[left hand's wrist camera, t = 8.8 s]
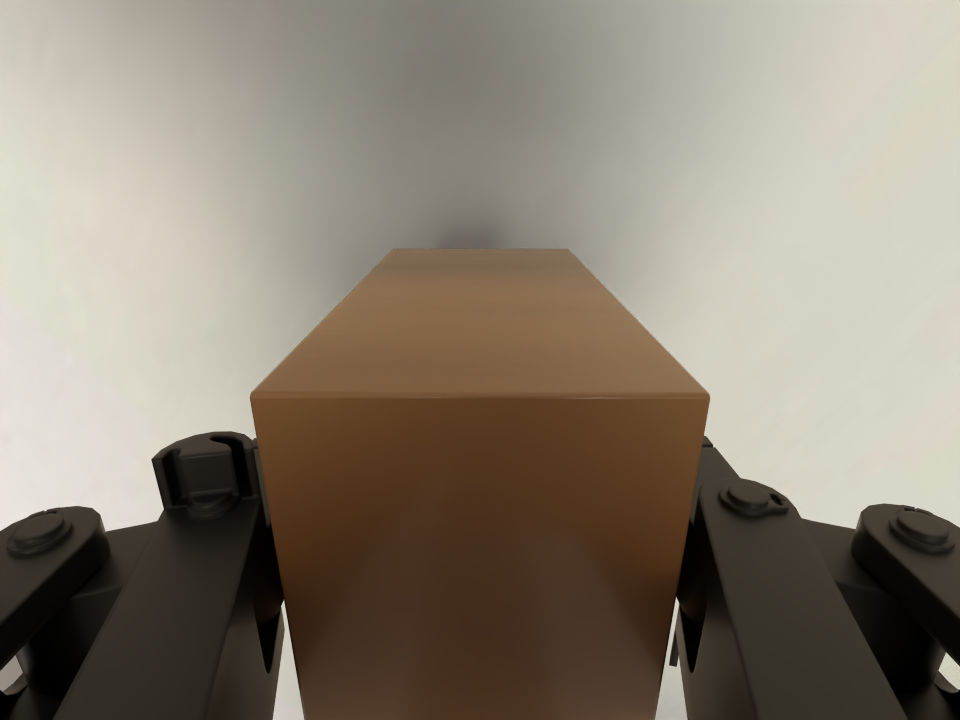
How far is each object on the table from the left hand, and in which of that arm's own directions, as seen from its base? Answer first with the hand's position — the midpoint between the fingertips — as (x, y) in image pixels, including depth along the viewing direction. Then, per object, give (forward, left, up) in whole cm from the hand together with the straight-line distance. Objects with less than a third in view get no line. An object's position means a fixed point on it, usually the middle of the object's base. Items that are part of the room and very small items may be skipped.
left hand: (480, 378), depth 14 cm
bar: (+10, 0, -1) cm, 10 cm away
